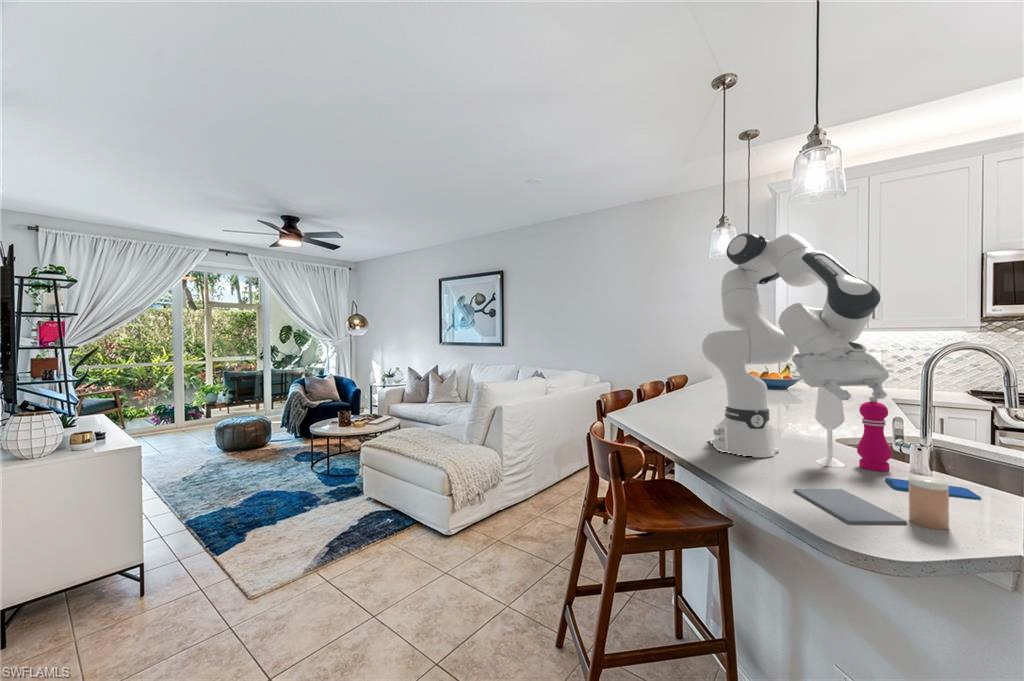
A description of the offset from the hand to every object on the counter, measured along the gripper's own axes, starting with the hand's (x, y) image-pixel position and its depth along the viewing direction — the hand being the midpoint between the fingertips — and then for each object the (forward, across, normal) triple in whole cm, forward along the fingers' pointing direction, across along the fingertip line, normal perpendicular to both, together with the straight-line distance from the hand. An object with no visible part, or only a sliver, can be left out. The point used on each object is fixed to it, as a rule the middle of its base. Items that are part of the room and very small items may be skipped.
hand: (864, 398), depth 93 cm
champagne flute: (0, +14, +32) cm, 35 cm away
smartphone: (+15, +20, +18) cm, 30 cm away
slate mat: (+18, -9, +14) cm, 25 cm away
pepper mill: (+4, +23, +28) cm, 36 cm away
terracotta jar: (+25, -1, +7) cm, 26 cm away
